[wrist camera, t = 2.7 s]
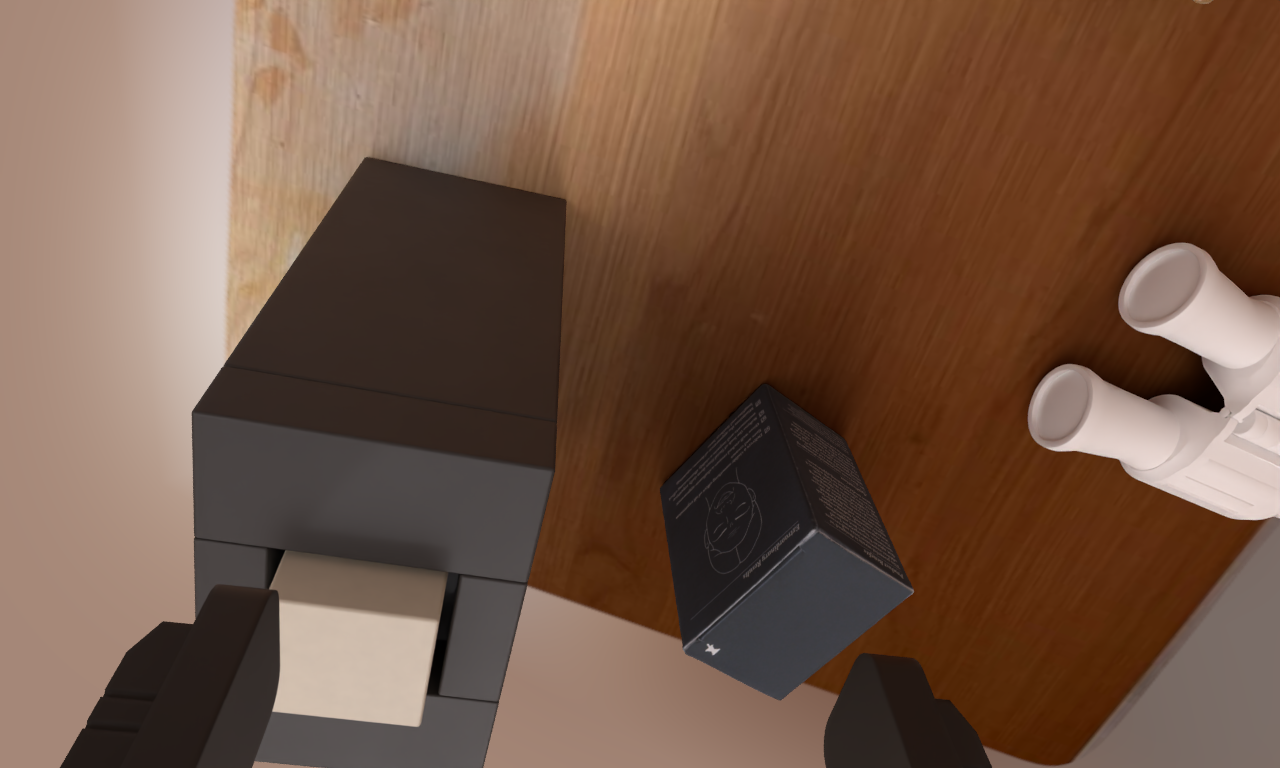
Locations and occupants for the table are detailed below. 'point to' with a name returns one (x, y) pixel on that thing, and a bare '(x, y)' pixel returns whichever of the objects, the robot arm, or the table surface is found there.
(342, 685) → the key
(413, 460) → the dark block with slot
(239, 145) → the table surface
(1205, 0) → the lion figurine
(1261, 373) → the binoculars
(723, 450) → the box
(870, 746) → the robot arm
